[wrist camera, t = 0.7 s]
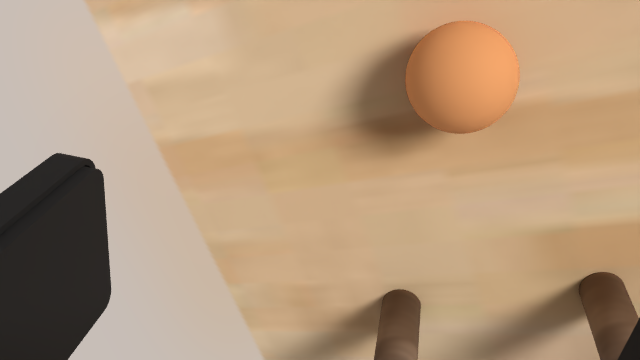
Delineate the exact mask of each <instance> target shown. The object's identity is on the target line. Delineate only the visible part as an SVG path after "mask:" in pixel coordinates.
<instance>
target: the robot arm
mask: <svg viewBox="0 0 640 360" xmlns="http://www.w3.org/2000/svg"><path fill="white" fill-rule="evenodd" d="M110 295H111V280H110V266H109V251H108V236H107V221H106V207H105V192H104V178H103V174H102V172H101V171H100V170H99V169H95V165H94V163H93V161H91V160H90V159H86V158H80V157H76V156H71V155H66V154H61V153H56V154H54V155H52V156H51V157H49V158H48V159H47V160H45V161H44V162H42V163H41V164H40V165H38V166H37V167H36V168H34V169H33V170H32V171H30V172H29V173H28V174H26V175H25V176H23V177H22V178H21V179H19V180H18V181H17V182H15V183H14V184H13V185H11V186H10V187H9V188H7V189H6V190H5V191H3V192H2V193H0V360H68V358H69V357H70V356H71V354H72V353H73V352H74V350H75V349H76V348H77V346H78V345H79V344H80V342H81V341H82V340H83V338H84V337H85V336H86V334H87V333H88V332H89V330H90V329H91V328H92V326H93V325H94V324H95V322H96V321H97V319H98V318H99V317H100V316H101V314H102V313H103V312H104V310H105V309H106V307H107V305H108V303H109V299H110ZM618 360H640V318H639V320H638V322H637V324H636V326H635V327H634V329H633V331H632V333H631V335H630V337H629V339H628V341H627V343H626V344H625V346H624V348H623V350H622V352H621V354H620V356H619V358H618Z"/></svg>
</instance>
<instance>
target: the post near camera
mask: <svg viewBox="0 0 640 360" xmlns="http://www.w3.org/2000/svg"><path fill="white" fill-rule="evenodd" d="M420 309H421V304H420V301H419V299H418V298H417V296H416V295H414V294H413V293H411V292H409V291H406V290H393V291H391V292H389V293H387V294H386V295H385V297H384V298H383V302H382V309H381V316H380V322H379V329H378V336H377V342H376V349H375V356H374V360H418V343H419V326H420Z"/></svg>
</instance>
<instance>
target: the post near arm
mask: <svg viewBox="0 0 640 360" xmlns="http://www.w3.org/2000/svg"><path fill="white" fill-rule="evenodd" d="M579 294H580V297H581V300H582V303H583V306H584V309H585V312H586V316H587V319H588V322H589V325H590V328H591V331H592V334H593V337H594V341H595V344H596V347H597V350H598V353H599V356H600V359H601V360H618V358H619V356H620V354H621V352H622V350H623V348H624V346H625V344H626V343H627V341H628V339H629V337H630V335H631V333H632V331H633V329H634V327H635V326H636V324H637V322H638V320H639V318H638V315H637V313H636V311H635V309H634V306H633V304H632V302H631V299H630V297H629V295H628V292H627V290H626V288H625V286H624V283H623V281H622V280H621V279H620V278H619V277H618V276H616V275H614V274H611V273H607V272H600V273H595V274H592V275H590V276H588V277H586V278H585V279H584V280H583V281H582V282H581V284H580V287H579Z"/></svg>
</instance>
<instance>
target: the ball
mask: <svg viewBox="0 0 640 360" xmlns="http://www.w3.org/2000/svg"><path fill="white" fill-rule="evenodd" d="M519 79H520V72H519V64H518V60H517V57H516V54H515V52H514V50H513V48H512V46H511V45H510V44H509V42H508V41H507V39H506V38H505V37H504V36H503V35H502V34H500V33H499V32H498V31H497V30H495V29H493V28H491V27H490V26H487V25H485V24H482V23H478V22H473V21H457V22H451V23H448V24H445V25H442V26H440V27H438V28H436V29H434V30H433V31H431V32H430V33H429V34H427V35H426V36H425V37H424V38H423V39H422V40H421V41H420V42H419V43H418V44H417V46H416V47H415V49H414V50H413V52H412V54H411V56H410V59H409V61H408V64H407V68H406V77H405V84H406V91H407V95H408V98H409V100H410V103H411V105H412V106H413V108H414V110H415V111H416V113H417V114H418V115H419V116H420V117H421V118H422V119H423V120H424V121H425V122H427V123H428V124H430V125H431V126H433V127H435V128H437V129H439V130H442V131H445V132H449V133H457V134H463V133H471V132H476V131H479V130H482V129H484V128H486V127H488V126H490V125H491V124H493V123H495V122H496V121H497V120H498V119H499V118H501V117H502V116H503V115H504V114H505V112H506V111H507V110H508V109H509V107H510V106H511V104H512V102H513V101H514V98H515V96H516V93H517V90H518V86H519Z"/></svg>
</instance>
